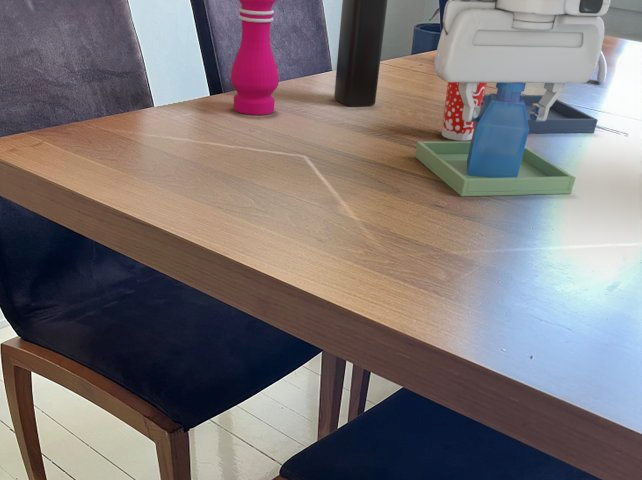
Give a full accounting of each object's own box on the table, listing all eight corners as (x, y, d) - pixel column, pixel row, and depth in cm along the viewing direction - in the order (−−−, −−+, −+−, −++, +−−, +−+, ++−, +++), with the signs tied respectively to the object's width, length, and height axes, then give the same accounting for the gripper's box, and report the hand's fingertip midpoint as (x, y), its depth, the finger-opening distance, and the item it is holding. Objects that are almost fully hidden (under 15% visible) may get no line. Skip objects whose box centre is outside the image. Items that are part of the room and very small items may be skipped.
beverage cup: (443, 141, 106) (463, 32, 98) (431, 129, 111) (449, 24, 102) (483, 142, 107) (506, 34, 99) (469, 130, 112) (490, 26, 103)
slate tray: (545, 107, 128) (549, 95, 126) (594, 132, 116) (598, 119, 115) (466, 107, 124) (469, 94, 123) (508, 133, 112) (511, 119, 111)
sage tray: (514, 155, 103) (517, 140, 102) (571, 193, 92) (575, 177, 91) (414, 156, 100) (417, 141, 98) (461, 196, 88) (464, 179, 87)
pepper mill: (237, 101, 116) (239, -51, 103) (282, 107, 115) (289, -46, 103) (224, 112, 110) (224, -47, 98) (271, 118, 109) (277, -42, 97)
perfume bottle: (516, 181, 93) (542, 77, 85) (467, 174, 93) (489, 71, 86) (513, 166, 98) (538, 67, 90) (467, 160, 98) (487, 61, 91)
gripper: (460, -8, 78) (437, 128, 87) (624, -2, 83) (587, 127, 92) (436, -16, 83) (417, 114, 91) (593, -10, 88) (561, 113, 96)
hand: (503, 120), depth 92 cm, fingers open, 8 cm apart
